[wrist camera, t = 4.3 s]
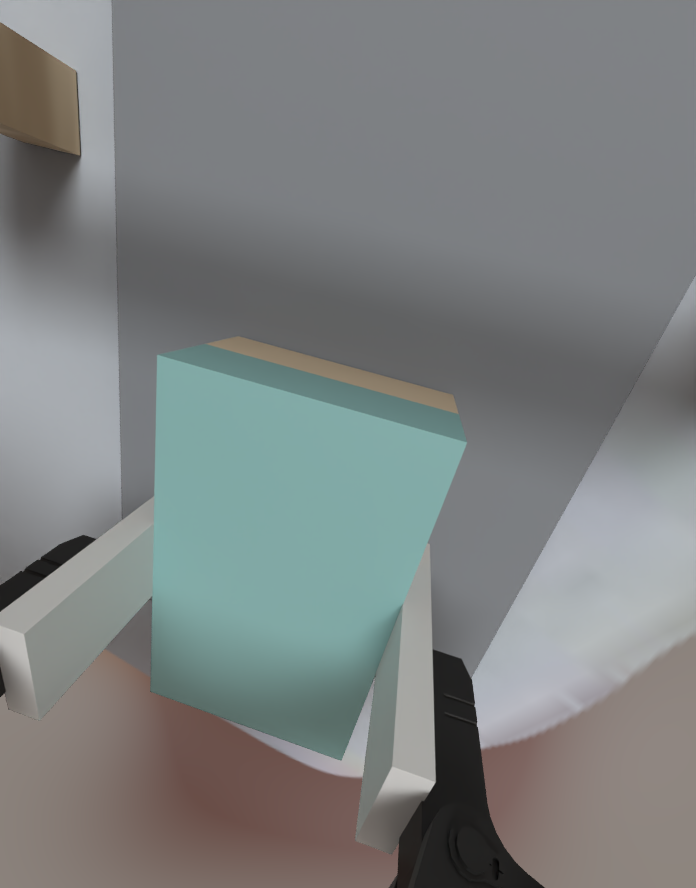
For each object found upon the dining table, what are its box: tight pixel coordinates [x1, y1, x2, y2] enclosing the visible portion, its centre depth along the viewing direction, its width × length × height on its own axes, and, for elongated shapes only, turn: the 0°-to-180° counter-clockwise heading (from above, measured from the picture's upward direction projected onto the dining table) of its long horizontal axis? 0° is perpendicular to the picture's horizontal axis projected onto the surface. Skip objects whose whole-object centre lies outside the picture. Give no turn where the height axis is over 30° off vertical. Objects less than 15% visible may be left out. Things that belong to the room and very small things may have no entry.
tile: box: [150, 336, 467, 760], centre depth 12 cm, size 7×12×4 cm, turn 167°
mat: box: [112, 0, 696, 678], centre depth 12 cm, size 16×24×1 cm, turn 167°
